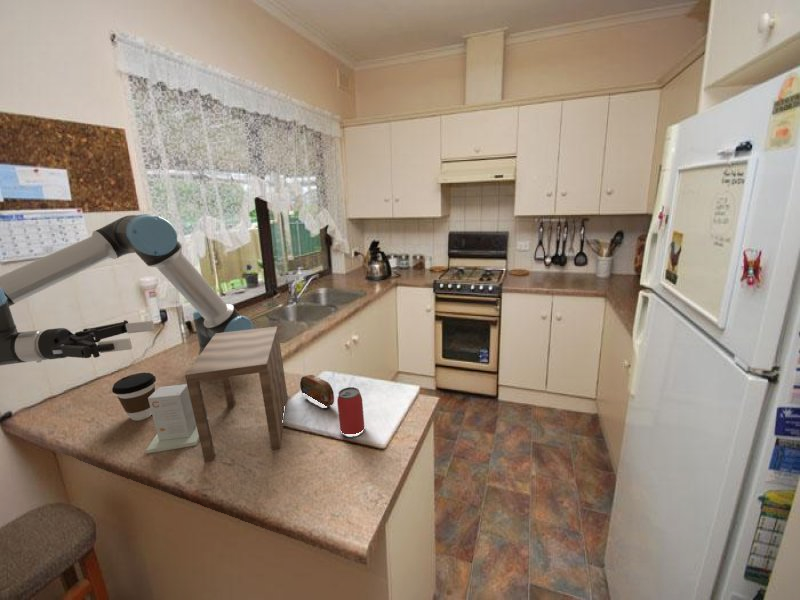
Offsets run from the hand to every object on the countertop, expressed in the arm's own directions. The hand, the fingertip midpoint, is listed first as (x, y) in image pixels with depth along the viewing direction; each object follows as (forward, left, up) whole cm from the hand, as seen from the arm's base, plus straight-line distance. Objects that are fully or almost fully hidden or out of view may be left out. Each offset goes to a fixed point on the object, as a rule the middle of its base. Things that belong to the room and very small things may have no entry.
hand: (142, 334), depth 96 cm
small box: (+2, +4, -29) cm, 29 cm away
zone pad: (+2, +4, -30) cm, 30 cm away
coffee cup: (-13, -11, -30) cm, 35 cm away
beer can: (+14, +51, -30) cm, 61 cm away
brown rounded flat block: (-4, +42, -30) cm, 52 cm away
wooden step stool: (+2, +23, -30) cm, 38 cm away
